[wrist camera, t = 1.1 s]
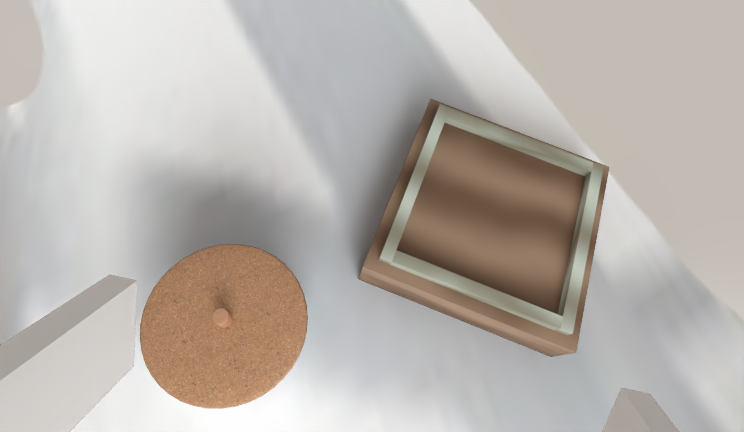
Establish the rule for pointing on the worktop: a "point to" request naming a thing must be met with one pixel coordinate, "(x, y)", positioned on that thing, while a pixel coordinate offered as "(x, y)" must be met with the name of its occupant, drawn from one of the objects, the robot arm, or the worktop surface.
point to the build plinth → (491, 230)
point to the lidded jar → (223, 326)
